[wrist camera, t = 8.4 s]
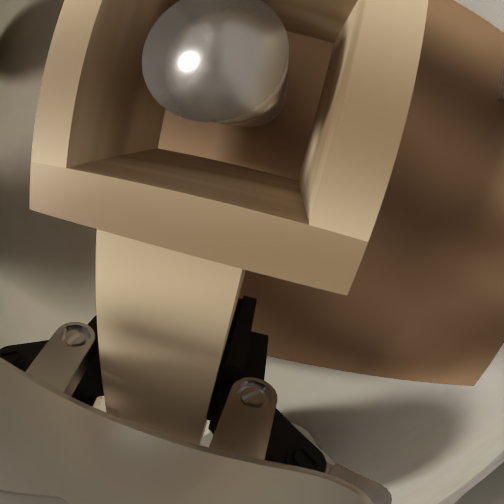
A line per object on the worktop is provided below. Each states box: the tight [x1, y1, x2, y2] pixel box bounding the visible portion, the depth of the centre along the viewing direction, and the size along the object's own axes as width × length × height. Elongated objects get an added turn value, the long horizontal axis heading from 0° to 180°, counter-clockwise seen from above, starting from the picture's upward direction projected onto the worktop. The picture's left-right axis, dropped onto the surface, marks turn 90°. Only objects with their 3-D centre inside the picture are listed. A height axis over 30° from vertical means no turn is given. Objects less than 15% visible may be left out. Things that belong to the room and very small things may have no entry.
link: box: [30, 0, 428, 445], centre depth 9 cm, size 17×7×5 cm, turn 167°
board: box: [158, 0, 504, 386], centre depth 13 cm, size 20×24×1 cm
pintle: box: [142, 0, 289, 127], centre depth 8 cm, size 3×3×7 cm
